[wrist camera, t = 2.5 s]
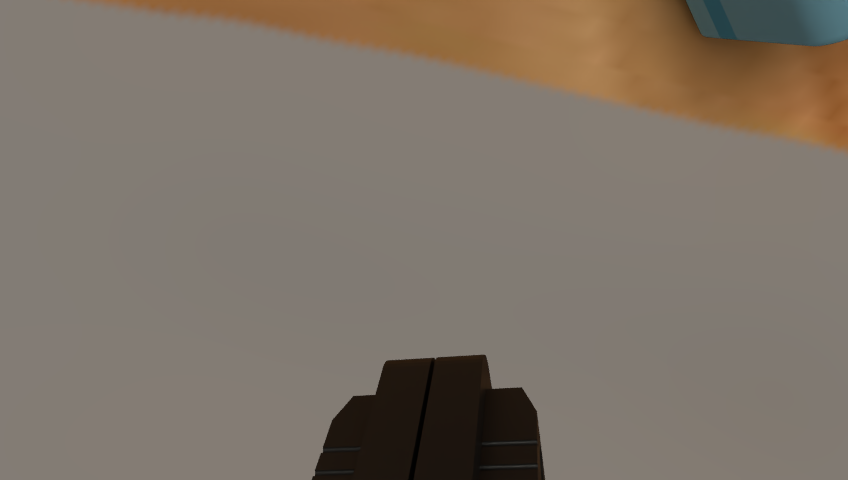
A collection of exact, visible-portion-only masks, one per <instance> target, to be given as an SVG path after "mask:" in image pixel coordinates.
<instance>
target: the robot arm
mask: <svg viewBox="0 0 848 480" xmlns="http://www.w3.org/2000/svg"><path fill="white" fill-rule="evenodd" d="M312 480H545V475H544V468H543V459H542V451H541V442H540V434H539V427H538V418H537V411H536V409H535V408H534V406H533V405H532V403H531V401H530V400H529V398H528V397H527V395H526V393H525V392H524V390H523V389H522V388H503V389H492V386H491V380H490V373H489V368H488V362H487V358H486V355H471V356H455V357H438V358H436V360H435V358H423V359H406V360H389V361H386V362H385V364H384V366H383V370H382V373H381V377H380V380H379V384H378V388H377V391H376V395H366V396H353V397H352V398H351V400H350V401H349V402H348V403H347V404H346V405H345V406H344V408H343V409H342V410H341V411H340V412H339V413H338V414H337V416H336V417H335V418H334V419H333V420H332V423H331V425H330V428H329V432H328V434H327V437H326V440H325V443H324V446H323V453H321V455H320V458H319V460H318V463H317V466H316V469H315V476H313V478H312Z"/></svg>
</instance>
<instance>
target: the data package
mask: <svg viewBox="0 0 848 480" xmlns="http://www.w3.org/2000/svg"><path fill="white" fill-rule="evenodd" d="M686 2H687V4H688V7H689V9H690V11H691V13H692V15H693V17H694V20H695V22H696V24H697V26H698V28H699V30H700V33H701V34H702V35H703V36H705V37H711V38H722V39H734V40H746V41H758V42H770V43H781V44H793V45H805V46H823V45H828V44H833V43H837V42H840V41H843V40H847V39H848V0H686Z"/></svg>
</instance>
